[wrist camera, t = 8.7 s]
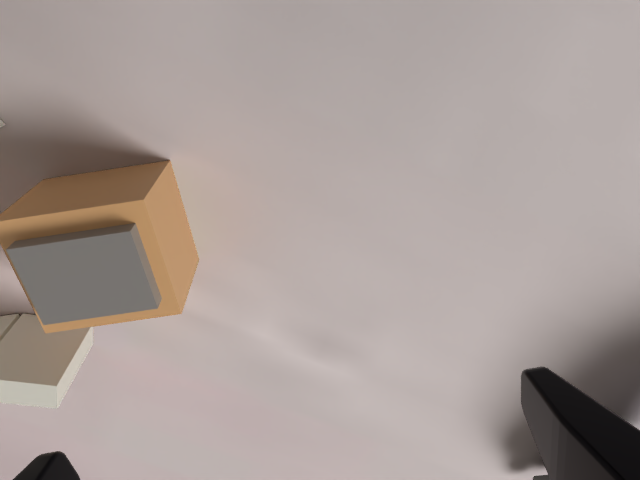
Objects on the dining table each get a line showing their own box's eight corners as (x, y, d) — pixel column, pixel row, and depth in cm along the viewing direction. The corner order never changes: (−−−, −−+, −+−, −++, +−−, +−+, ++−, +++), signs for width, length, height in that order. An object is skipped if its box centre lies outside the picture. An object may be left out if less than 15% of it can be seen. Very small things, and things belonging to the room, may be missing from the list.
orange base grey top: (44, 178, 19) (-21, 231, 15) (170, 159, 19) (138, 207, 15) (85, 275, 22) (37, 344, 17) (199, 258, 21) (178, 323, 17)
